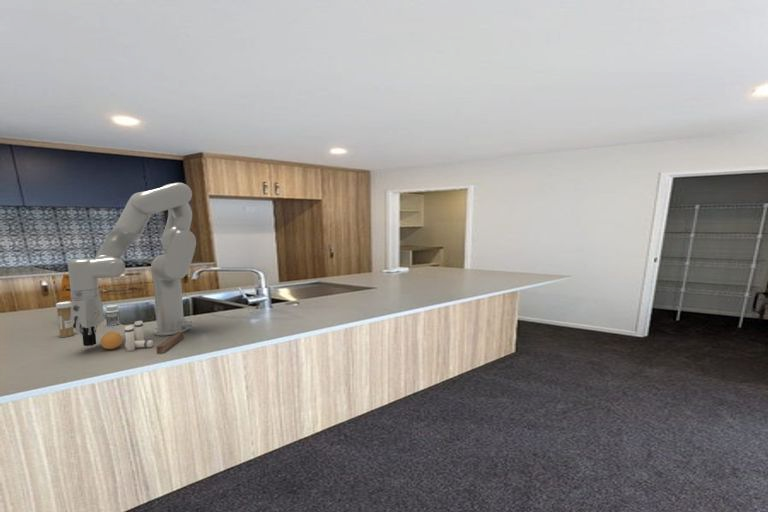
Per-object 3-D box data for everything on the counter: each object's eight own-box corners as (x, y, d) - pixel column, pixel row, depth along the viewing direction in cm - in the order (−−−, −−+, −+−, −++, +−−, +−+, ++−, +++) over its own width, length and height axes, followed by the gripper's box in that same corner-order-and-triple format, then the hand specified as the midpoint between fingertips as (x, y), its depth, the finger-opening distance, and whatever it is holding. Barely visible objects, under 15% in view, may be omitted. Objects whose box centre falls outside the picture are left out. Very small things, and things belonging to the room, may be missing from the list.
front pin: (130, 345, 130) (154, 344, 130) (125, 349, 127) (150, 348, 127) (128, 339, 129) (152, 338, 129) (123, 343, 126) (148, 342, 126)
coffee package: (72, 319, 167) (68, 272, 165) (101, 318, 168) (97, 271, 166) (56, 325, 157) (51, 275, 155) (87, 324, 158) (82, 274, 156)
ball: (110, 328, 129) (108, 344, 130) (97, 333, 124) (95, 350, 124) (126, 331, 130) (125, 347, 130) (115, 335, 124) (113, 352, 124)
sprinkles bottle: (73, 336, 142) (70, 302, 140) (58, 338, 139) (54, 304, 138) (75, 333, 146) (72, 300, 144) (60, 335, 143) (57, 302, 142)
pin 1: (136, 348, 127) (135, 325, 126) (132, 351, 125) (130, 327, 124) (129, 348, 127) (127, 325, 126) (124, 351, 124) (122, 327, 123)
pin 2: (146, 342, 133) (144, 320, 132) (142, 345, 130) (140, 322, 130) (138, 343, 133) (136, 320, 132) (134, 345, 130) (132, 322, 129)
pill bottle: (111, 323, 159) (109, 304, 159) (122, 322, 160) (121, 304, 159) (104, 326, 155) (102, 307, 154) (115, 326, 155) (114, 307, 154)
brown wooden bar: (183, 338, 138) (183, 331, 138) (163, 353, 122) (162, 346, 122) (178, 338, 138) (177, 331, 138) (157, 353, 122) (156, 346, 122)
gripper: (81, 298, 118) (86, 352, 120) (110, 289, 133) (114, 337, 135) (56, 299, 117) (62, 353, 119) (88, 290, 132) (92, 338, 134)
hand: (89, 344), depth 127 cm, fingers closed
